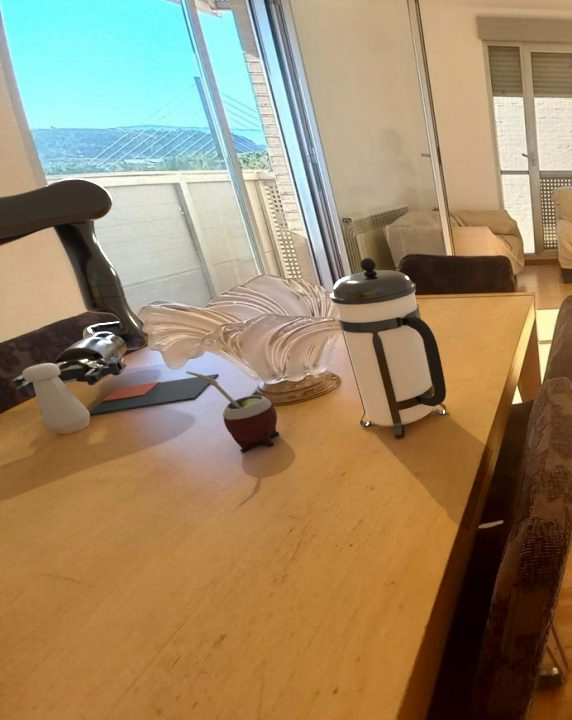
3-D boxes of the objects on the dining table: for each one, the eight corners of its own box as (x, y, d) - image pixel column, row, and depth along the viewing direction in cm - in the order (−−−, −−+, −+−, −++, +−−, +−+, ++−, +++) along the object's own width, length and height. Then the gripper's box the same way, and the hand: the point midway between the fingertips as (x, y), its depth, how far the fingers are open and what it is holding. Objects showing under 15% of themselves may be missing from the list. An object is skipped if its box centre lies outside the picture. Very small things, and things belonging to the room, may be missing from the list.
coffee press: (347, 449, 79) (293, 272, 68) (373, 405, 94) (333, 253, 82) (454, 435, 82) (420, 263, 71) (463, 394, 97) (437, 246, 85)
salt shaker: (42, 435, 87) (4, 371, 82) (81, 419, 92) (47, 358, 87) (64, 438, 86) (27, 373, 81) (102, 422, 91) (70, 360, 86)
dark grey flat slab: (84, 416, 94) (83, 413, 93) (121, 389, 105) (120, 387, 105) (195, 399, 99) (194, 396, 99) (218, 375, 110) (217, 373, 110)
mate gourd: (293, 436, 84) (266, 358, 78) (247, 460, 77) (213, 377, 71) (266, 428, 87) (237, 353, 81) (219, 452, 80) (184, 371, 74)
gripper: (33, 349, 96) (-10, 377, 83) (127, 335, 103) (100, 358, 90) (52, 382, 99) (12, 414, 86) (142, 366, 105) (118, 394, 93)
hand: (57, 386), depth 88 cm, fingers open, 8 cm apart
